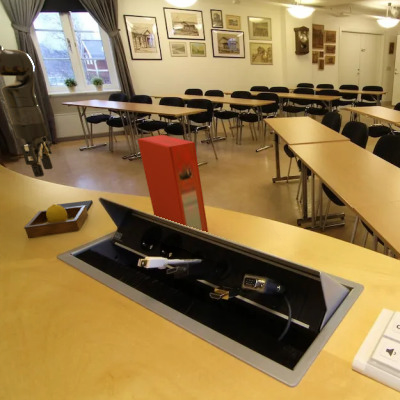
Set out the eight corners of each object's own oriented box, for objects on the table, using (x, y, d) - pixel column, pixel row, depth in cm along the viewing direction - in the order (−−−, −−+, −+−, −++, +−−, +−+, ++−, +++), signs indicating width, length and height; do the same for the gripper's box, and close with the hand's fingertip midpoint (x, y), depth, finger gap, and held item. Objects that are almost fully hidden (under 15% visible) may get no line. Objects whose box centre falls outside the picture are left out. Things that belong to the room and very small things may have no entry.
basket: (27, 238, 103) (23, 227, 102) (42, 220, 115) (39, 211, 114) (79, 230, 108) (76, 220, 107) (88, 214, 120) (85, 205, 119)
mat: (49, 216, 118) (48, 214, 118) (57, 206, 127) (56, 204, 126) (87, 211, 123) (86, 209, 122) (92, 202, 131) (92, 200, 131)
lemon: (46, 228, 110) (38, 206, 107) (61, 221, 115) (55, 200, 112) (59, 230, 109) (51, 208, 106) (74, 223, 114) (67, 202, 111)
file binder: (186, 251, 96) (168, 146, 84) (157, 234, 106) (137, 138, 94) (209, 241, 102) (195, 141, 90) (180, 226, 112) (163, 134, 100)
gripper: (21, 118, 102) (37, 167, 108) (1, 125, 90) (20, 180, 96) (50, 117, 105) (64, 165, 111) (34, 124, 93) (51, 177, 99)
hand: (44, 172), depth 103 cm, fingers open, 8 cm apart
